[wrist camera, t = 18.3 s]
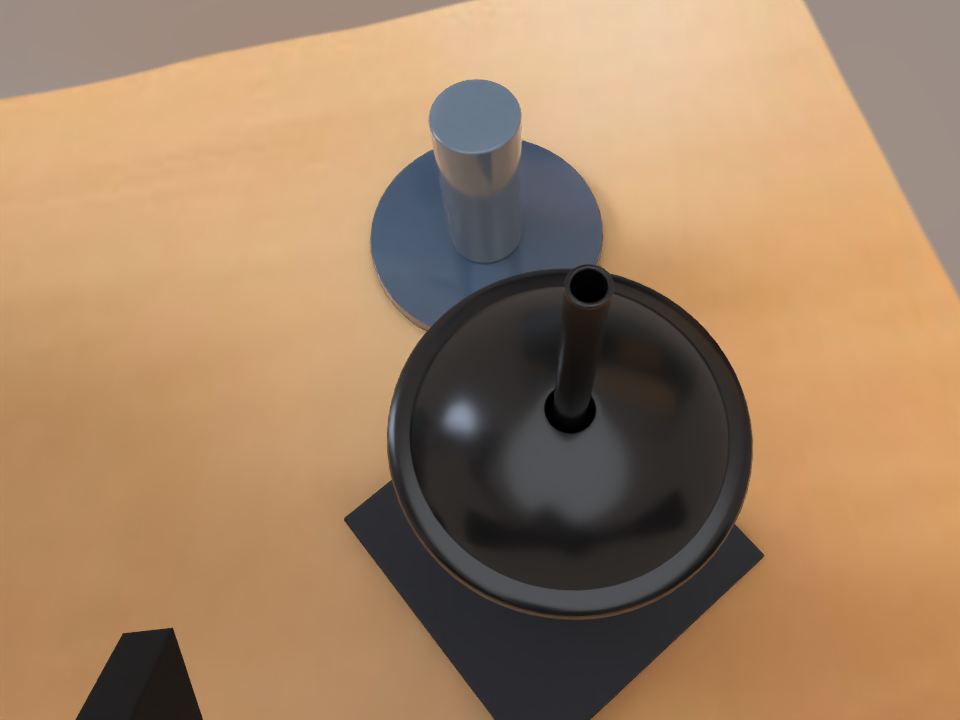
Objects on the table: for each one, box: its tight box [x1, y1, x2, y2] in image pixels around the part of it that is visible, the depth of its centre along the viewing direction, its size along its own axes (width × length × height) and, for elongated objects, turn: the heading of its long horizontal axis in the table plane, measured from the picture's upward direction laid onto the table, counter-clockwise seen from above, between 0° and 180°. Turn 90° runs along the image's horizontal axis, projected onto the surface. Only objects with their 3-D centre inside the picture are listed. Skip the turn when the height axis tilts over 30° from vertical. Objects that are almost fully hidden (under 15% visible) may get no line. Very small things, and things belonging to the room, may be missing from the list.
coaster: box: [344, 480, 764, 720], centre depth 30 cm, size 11×11×1 cm
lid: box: [371, 80, 603, 331], centre depth 31 cm, size 10×10×8 cm
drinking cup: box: [387, 264, 753, 620], centre depth 20 cm, size 8×8×20 cm
